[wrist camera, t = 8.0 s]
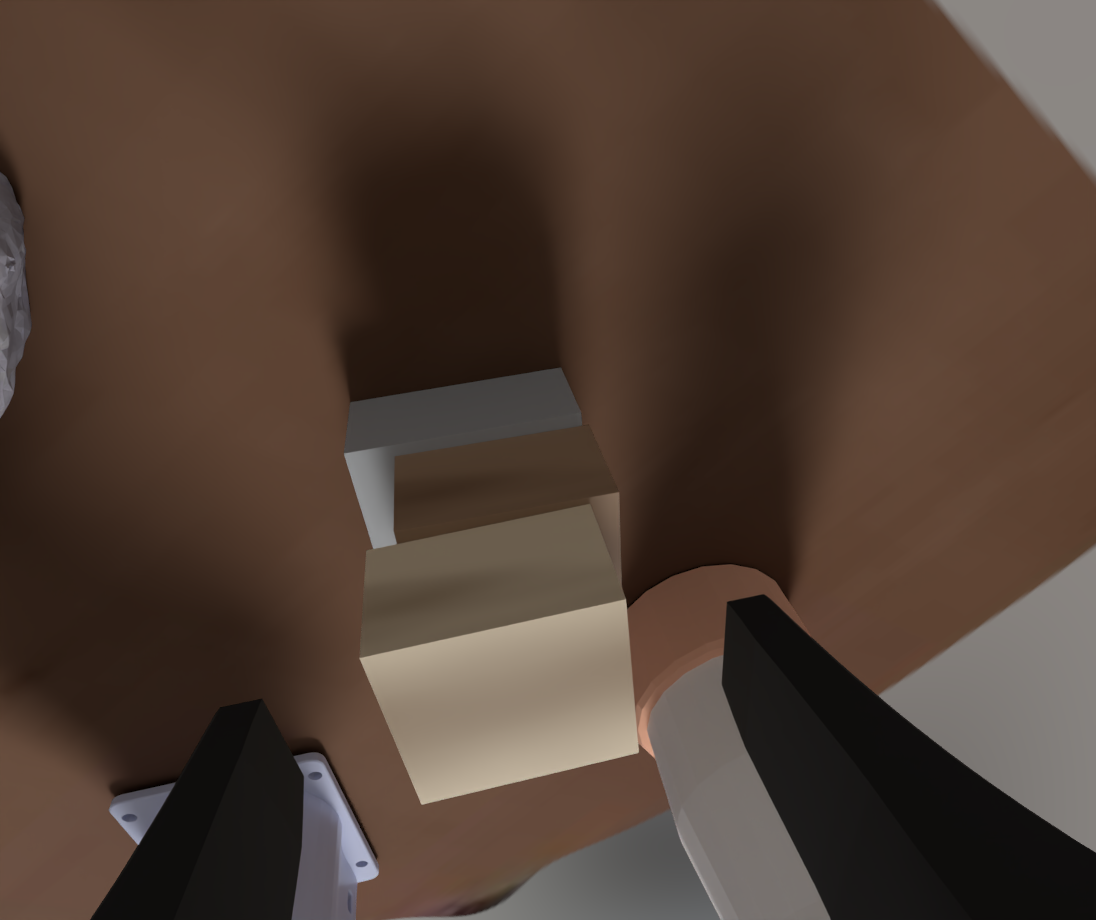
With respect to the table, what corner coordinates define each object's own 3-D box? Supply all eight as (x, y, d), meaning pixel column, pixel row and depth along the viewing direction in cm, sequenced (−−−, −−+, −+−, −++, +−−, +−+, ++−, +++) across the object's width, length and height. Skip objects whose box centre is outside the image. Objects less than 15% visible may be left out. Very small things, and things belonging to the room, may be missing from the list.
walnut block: (596, 567, 21) (623, 643, 18) (429, 598, 20) (433, 680, 18) (589, 424, 18) (619, 492, 15) (394, 456, 17) (393, 531, 15)
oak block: (606, 651, 18) (639, 752, 16) (418, 693, 18) (421, 804, 15) (590, 503, 15) (626, 599, 13) (366, 550, 15) (359, 658, 13)
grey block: (573, 522, 23) (594, 582, 21) (396, 555, 23) (396, 621, 20) (558, 362, 20) (581, 412, 18) (350, 397, 20) (343, 453, 17)
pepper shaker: (581, 615, 26) (876, 1597, 10) (764, 533, 25) (1392, 1441, 9) (643, 717, 30) (921, 1524, 14) (802, 649, 29) (1280, 1413, 13)
